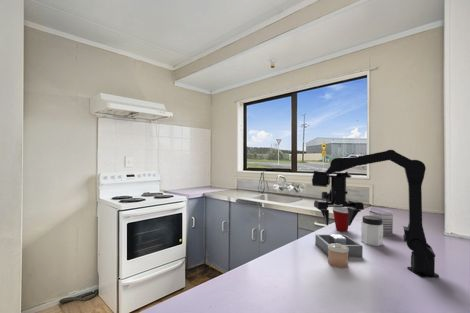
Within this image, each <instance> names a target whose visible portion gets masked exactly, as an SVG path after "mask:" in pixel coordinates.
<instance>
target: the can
mask: <svg viewBox="0 0 470 313" xmlns="http://www.w3.org/2000/svg"><path fill="white" fill-rule="evenodd" d="M368 210H369V215H368V216H376V217H380V218H382V224H383V236H385V237H387V236H388V237H389V236H393V232H394V231H393V228H394V227H393V226H394V224H393V223H394V220H393V219H394V214H395V213H394V212H392V211H391V210H388V209H383V208H377V207H375V208H374V207H370V208H369V209H368Z"/></svg>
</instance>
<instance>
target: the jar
mask: <svg viewBox="0 0 470 313" xmlns="http://www.w3.org/2000/svg"><path fill="white" fill-rule="evenodd" d="M360 225H361V227H360V230H361V232H360V233H361V235H360V241H361V242H362V243H364V244H366V245H367V246H375V247H379V246H382V245H383V244H384V235H383V224H382V218H380V217H376V216H369V215H363V216H362V221H361V224H360Z"/></svg>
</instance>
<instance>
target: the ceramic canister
mask: <svg viewBox="0 0 470 313" xmlns="http://www.w3.org/2000/svg"><path fill="white" fill-rule="evenodd" d="M348 252H349V248H348V247H347V246H345V245H342V244H339V243H333V244H329V245H328V256H327V258H328V260H327V262H328V265H329V266H332V267H334V268H337V267H338V269H345V268H347V267H349V257H348Z"/></svg>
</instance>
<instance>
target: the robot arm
mask: <svg viewBox="0 0 470 313" xmlns="http://www.w3.org/2000/svg"><path fill="white" fill-rule="evenodd" d="M387 161H390V162H392V163H394V164H396V165H398V166H400V168H403V169H404V173H405V176H406V177H405V178H406V182H407V185H408V186H407V188H408V189H407V190H408V193H407V194H408V225H407V226H404V225H403V227H402V228H403V242H405V243H406V245H407V248H408V249H409V250H410V251H411V254H410V266H407V267H406V268H407V269H408V270H409V271H411V272H413V273H414V274H415V275H418V276H419V277H422V278H426V277H427V278H433V277H434V278H437V277H440V275H439V273H436V272H435V269H436V266H435V265H436V264H435V262H436V259H435V258H436V253H435V252H434V250H433V248H432V246H431V245H430V244H429V243H427V238H426V234H425V231H424V226H423V200H422V199H423V196H422V195H423V193H422V190H423V189H422V187H423V186H422V185H423V181H424V179H425V174H426V168H427V167H426V165H425V163H424V162H423V161H421V160H419V159H410V158H408V157H406V156H404V155H402V154H401V153H398V152H396V151H395V150H394V149H388V150H387V149H386V150H384V151H379V152H375V153H370V154H364V155H359V156H353V157H351V156H350V157H335V158H332V160H331V162H330V166H329V167H328V168H327V169H326V170H325V171H321V170H320V171H319V170H314V171H313V174H312V179H311V185H312V186H313V187H319V188H321V187H323V188H328V186H330V189H329V193H328V192H327V191H322V192H321V199H316V200H314V202H313V207H315V208H316V209H317V210H318V211H320V213H321V214H322V217H323V220H324V222H325V225H326V226H329V222H330V220H329V219H330V210H329V208H332V207H345V208H347V209H348V225H349V226H351V225H352V223H353V221H354V219H355V217H356V216H357V215H358V214H359V213H360V212H361V210H365V205H364V203H363V202H361V201H359V200H347V195H348V191H347V179H350V178H352V175H351V174H350V173H349V171H347V170H350V169H352V168H355V167H359V166H363V165H369V164H375V163H381V162H387ZM344 171H345V172H344ZM342 172H344V173H342ZM335 173H336V174H335ZM334 174H335V175H334ZM349 226H348V227H349Z"/></svg>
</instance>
